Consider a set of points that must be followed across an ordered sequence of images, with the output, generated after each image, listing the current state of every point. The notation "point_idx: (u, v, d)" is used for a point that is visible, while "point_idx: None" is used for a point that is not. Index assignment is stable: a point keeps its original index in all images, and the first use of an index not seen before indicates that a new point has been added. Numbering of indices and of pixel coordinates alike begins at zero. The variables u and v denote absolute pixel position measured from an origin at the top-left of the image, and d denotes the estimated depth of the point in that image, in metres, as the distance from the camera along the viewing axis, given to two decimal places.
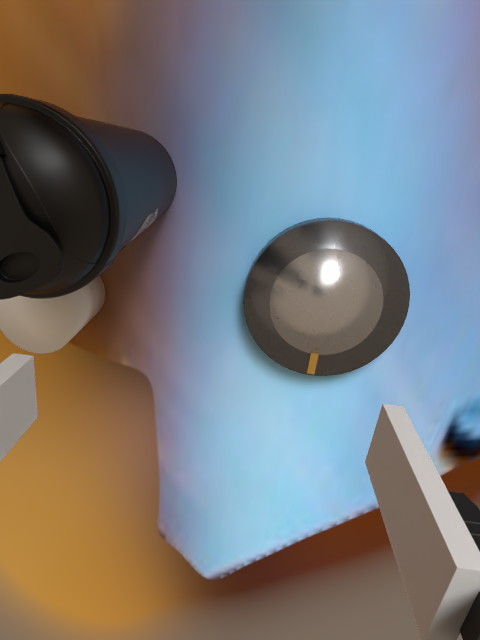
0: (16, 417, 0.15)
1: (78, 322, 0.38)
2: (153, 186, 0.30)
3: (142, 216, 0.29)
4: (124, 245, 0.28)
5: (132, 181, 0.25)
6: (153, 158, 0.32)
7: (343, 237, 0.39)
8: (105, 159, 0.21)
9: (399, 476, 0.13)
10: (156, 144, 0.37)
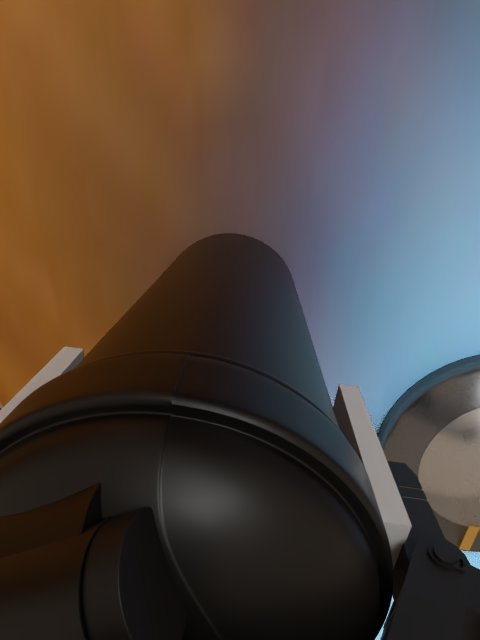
0: None
1: None
2: None
3: None
4: None
5: None
6: (301, 310, 0.20)
7: None
8: (378, 510, 0.09)
9: None
10: (280, 263, 0.24)
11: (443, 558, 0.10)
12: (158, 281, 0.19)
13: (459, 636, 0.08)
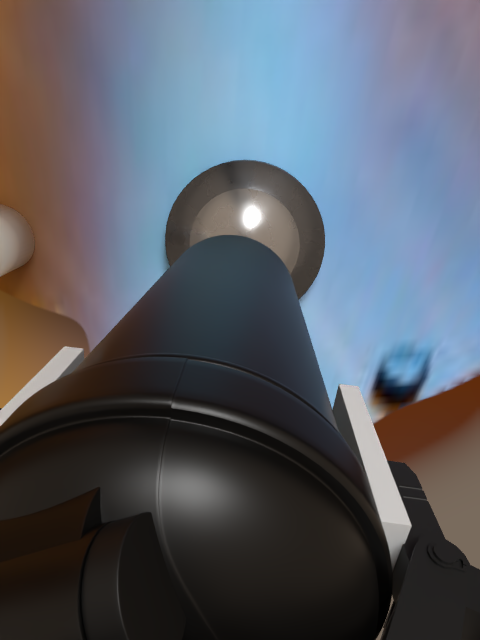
0: None
1: None
2: None
3: None
4: None
5: None
6: (301, 312, 0.20)
7: (256, 176, 0.40)
8: (377, 513, 0.09)
9: None
10: (280, 264, 0.24)
11: (443, 558, 0.10)
12: (158, 283, 0.19)
13: (459, 636, 0.08)
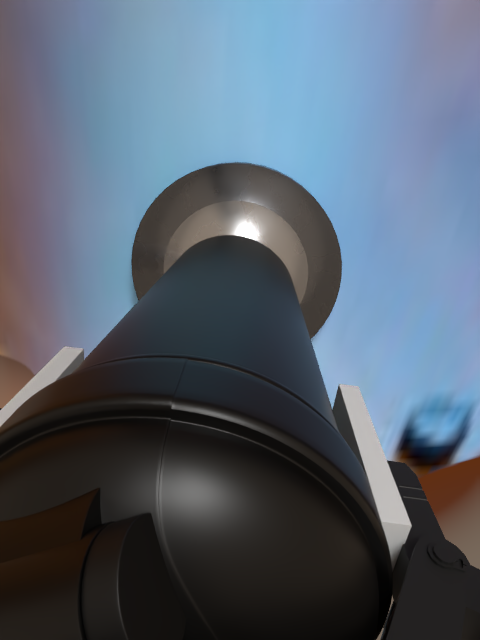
0: None
1: None
2: None
3: None
4: None
5: None
6: (301, 312, 0.20)
7: (250, 185, 0.30)
8: (377, 514, 0.09)
9: None
10: (280, 264, 0.24)
11: (443, 558, 0.10)
12: (158, 283, 0.19)
13: (459, 636, 0.08)
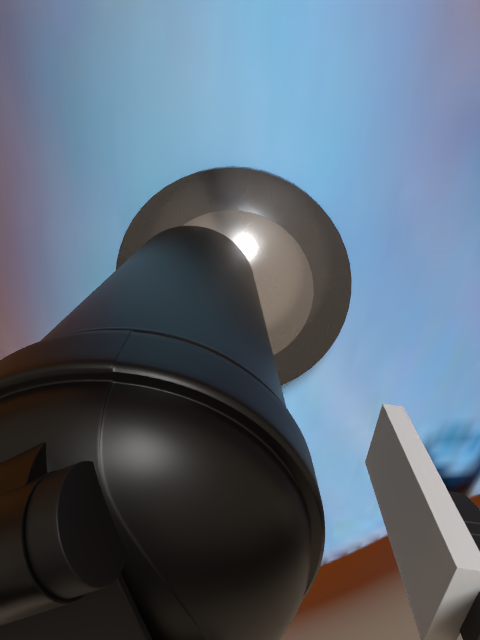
0: None
1: None
2: None
3: None
4: None
5: None
6: (256, 296, 0.21)
7: (248, 192, 0.26)
8: (307, 463, 0.10)
9: (399, 476, 0.13)
10: (238, 253, 0.25)
11: None
12: (115, 271, 0.19)
13: None
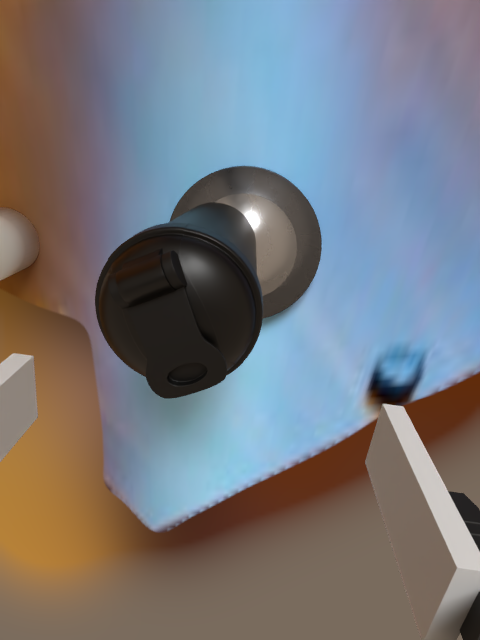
0: (16, 417, 0.15)
1: (3, 262, 0.41)
2: None
3: None
4: None
5: None
6: (251, 240, 0.36)
7: (254, 182, 0.41)
8: (255, 278, 0.25)
9: (399, 476, 0.13)
10: (244, 219, 0.40)
11: None
12: None
13: None
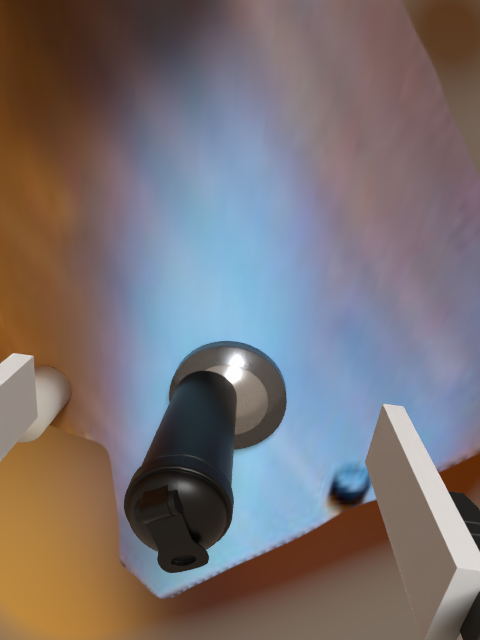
0: (16, 417, 0.15)
1: (48, 420, 0.55)
2: (233, 445, 0.48)
3: None
4: None
5: (230, 472, 0.43)
6: (231, 417, 0.50)
7: (234, 357, 0.55)
8: (227, 492, 0.39)
9: (399, 476, 0.13)
10: (227, 388, 0.54)
11: None
12: (174, 408, 0.49)
13: None
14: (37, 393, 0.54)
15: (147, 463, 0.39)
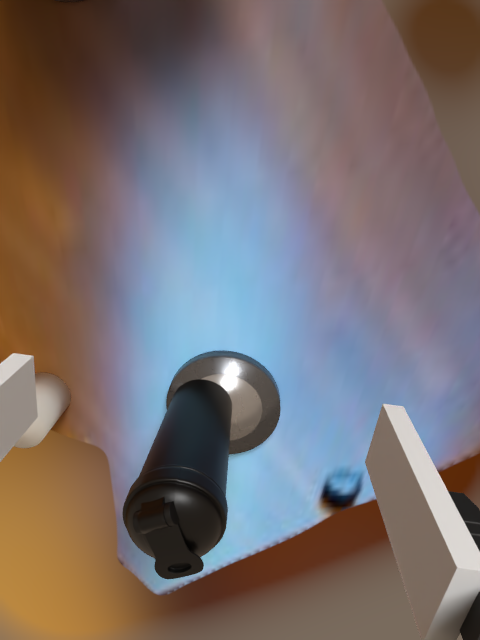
0: (16, 417, 0.15)
1: (48, 427, 0.56)
2: (228, 454, 0.50)
3: None
4: None
5: (225, 482, 0.45)
6: (226, 426, 0.52)
7: (230, 367, 0.57)
8: (221, 503, 0.40)
9: (399, 476, 0.13)
10: (222, 397, 0.56)
11: None
12: (171, 418, 0.50)
13: None
14: (38, 401, 0.56)
15: (145, 474, 0.41)
